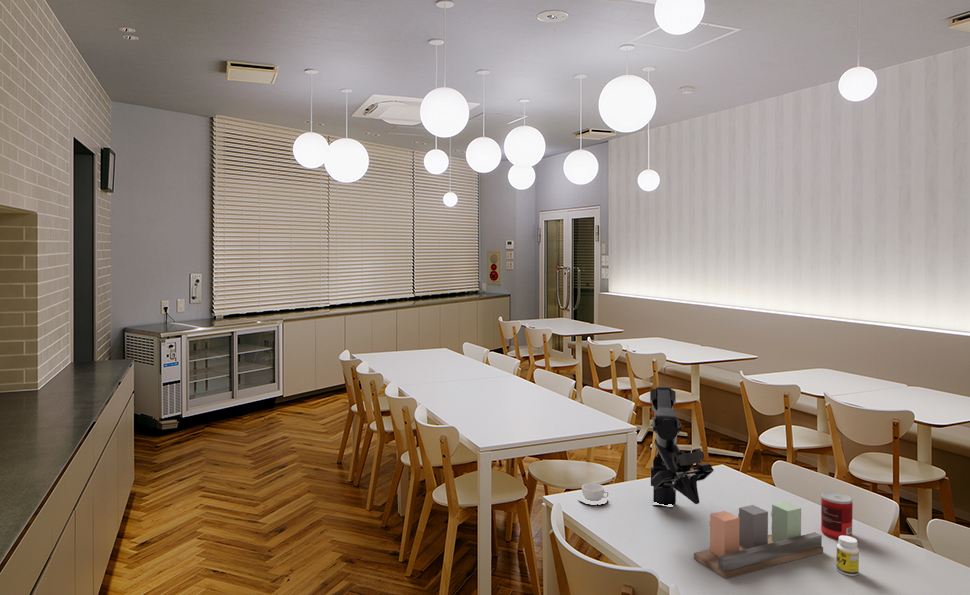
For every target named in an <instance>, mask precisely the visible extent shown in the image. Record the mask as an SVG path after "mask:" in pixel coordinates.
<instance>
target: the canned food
mask: <svg viewBox="0 0 970 595" xmlns="http://www.w3.org/2000/svg"><path fill="white" fill-rule="evenodd" d="M853 502H854V501H853V498H852V497H851V496H850V495H847V494H845V493H842V492H838V491H837V492H836V491H824V492H822V493H821V500H820V505H821V506H820V508H821V510H820V512H821V514H820V517H821V518H820V530H821V532H822V534H823V535H824V536H826V537H828V538H830V539H834V540H839V536H842V535H844V536H850V537H853V508H854V507H853Z"/></svg>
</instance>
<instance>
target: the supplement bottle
mask: <svg viewBox="0 0 970 595" xmlns="http://www.w3.org/2000/svg"><path fill="white" fill-rule="evenodd" d="M837 540H838V539H837ZM859 561H860V550H859V547H858V540H857V538H854V537H853V536H851V537H850V536H844V535H842V536H839V540H838V543H837V545H836V564H835V566H836V570H837V571H838V573H840V574H843V575H845V576H848V577H854V576H855V577H856V576H858V575H859V572H860V571H859V565H860V562H859Z"/></svg>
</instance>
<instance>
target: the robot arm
mask: <svg viewBox="0 0 970 595" xmlns="http://www.w3.org/2000/svg"><path fill="white" fill-rule="evenodd" d="M649 391H650V392H649V395H650V396H649V401H650V402H649V403H650V404H652V406H651V409H652V411H653V413H654V417H652V432H654V433H655V434H656V438H655V440H654V445H655V447H656V449H657V450H656V451H657V454H656V456H654V458H653V461H652V466H651V467H650V486H651V487H653V488H652V489H653V493H652V494H653V497H652V498H653V501H654V502H657V503H659V504H664V505H668V504H672V505H673V504H675V505H676V503H677V492H679V493H680V494H681V495H683V496H685V498H687V499H688V500H689V501H691V502H692V503H693V504H694V505H698V504H700V498H699V492H698V482H700V481H704V480H705V479H706V478H708V477H709V476H710V475H711V474H712V473H713V472H714V471H715V469H714V468H713V465H711V463H708V462H706V463H702V460H704V458H705V456H704V454H703V451H702V450H701V448H693V449H691V452H685V451H684V450H681V449H680V448H679V445H678V444H677V441H678V439H677V438H678V434H679V433H680V432H681V431H682V423H681V422H680V419H679V418H677V413H676V412H675V411H674V405H676V396H677V395H676V390H674V389H672V388H671V387H670V386H660V385H659V386H656V387H655V388H653V389H651V390H649ZM694 464H697V465H694ZM694 466H695V467H694ZM692 468H693V469H692ZM653 501H652V502H653Z"/></svg>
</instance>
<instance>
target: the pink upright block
mask: <svg viewBox="0 0 970 595" xmlns="http://www.w3.org/2000/svg"><path fill="white" fill-rule="evenodd" d="M709 549H710V551H711V552H712V553H714V554H716V555H718V556H721V555H725V554H729V553H733V552H737V551H739V517H738V516H736V515H734V514H732V513H730V512H728V511H726V510H722V511H717V512H713V513H710V514H709Z"/></svg>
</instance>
